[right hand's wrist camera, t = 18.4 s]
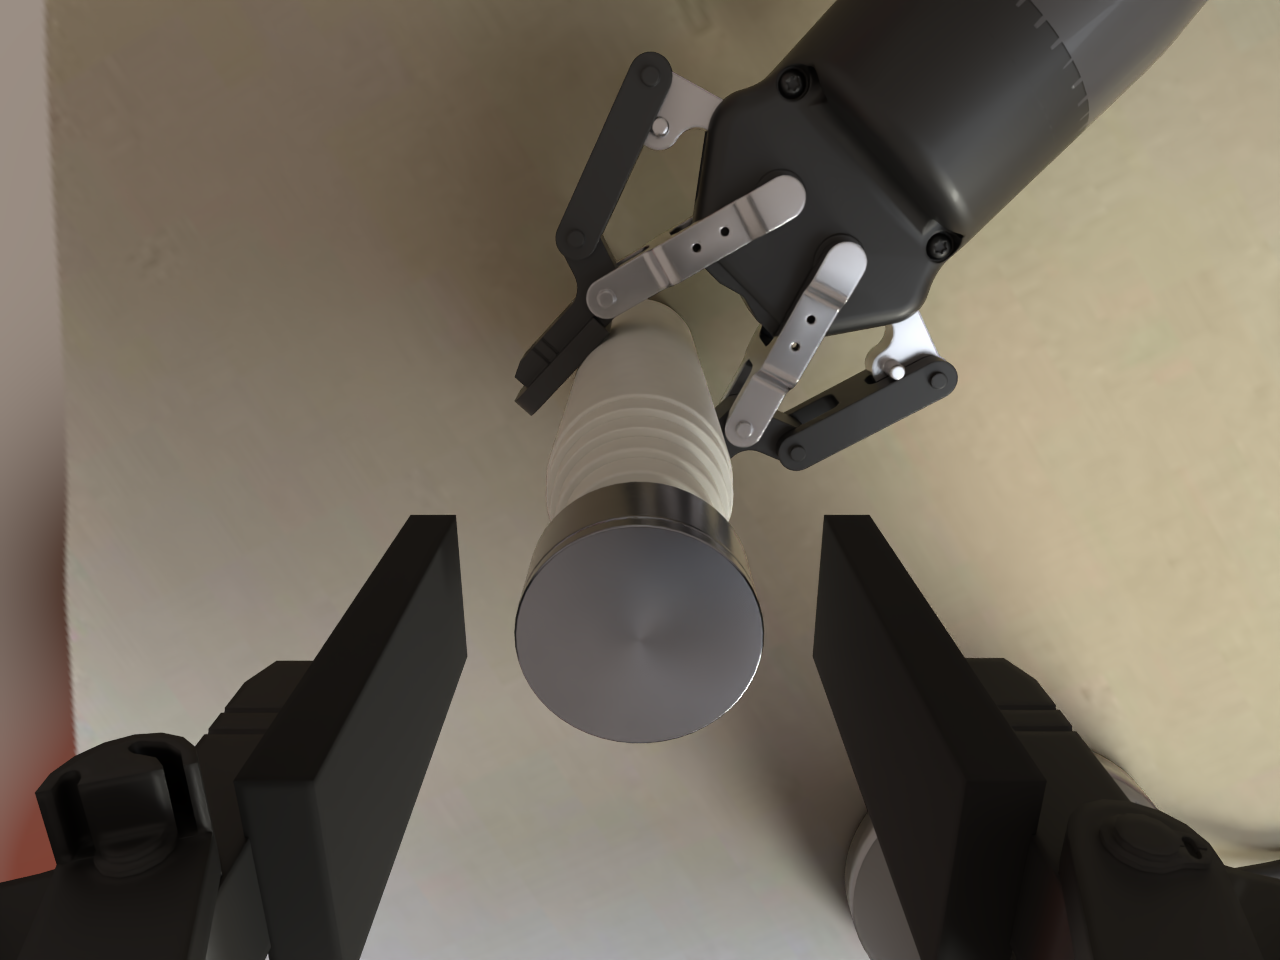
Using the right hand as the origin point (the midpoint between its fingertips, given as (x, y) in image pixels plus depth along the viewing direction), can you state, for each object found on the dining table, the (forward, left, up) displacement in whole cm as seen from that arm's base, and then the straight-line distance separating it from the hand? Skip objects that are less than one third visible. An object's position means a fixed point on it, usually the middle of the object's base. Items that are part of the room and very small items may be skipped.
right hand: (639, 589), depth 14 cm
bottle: (0, 0, -20) cm, 20 cm away
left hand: (+2, +2, -14) cm, 14 cm away
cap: (0, 0, +1) cm, 1 cm away
